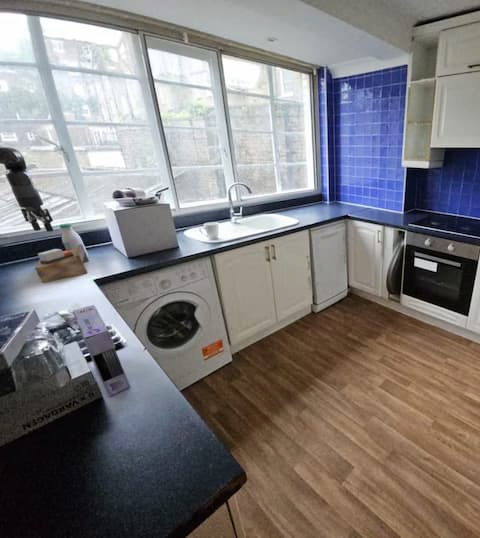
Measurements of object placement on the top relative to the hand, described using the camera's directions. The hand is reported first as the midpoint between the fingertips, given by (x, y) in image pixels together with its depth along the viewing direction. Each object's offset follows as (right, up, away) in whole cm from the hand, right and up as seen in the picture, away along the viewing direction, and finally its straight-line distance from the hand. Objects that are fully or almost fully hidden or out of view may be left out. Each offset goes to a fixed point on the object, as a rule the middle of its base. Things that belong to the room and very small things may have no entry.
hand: (44, 230), depth 137 cm
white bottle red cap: (+1, -13, +6) cm, 14 cm away
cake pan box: (+82, -47, -59) cm, 111 cm away
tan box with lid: (-1, -19, +12) cm, 22 cm away
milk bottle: (-10, -12, +28) cm, 32 cm away
